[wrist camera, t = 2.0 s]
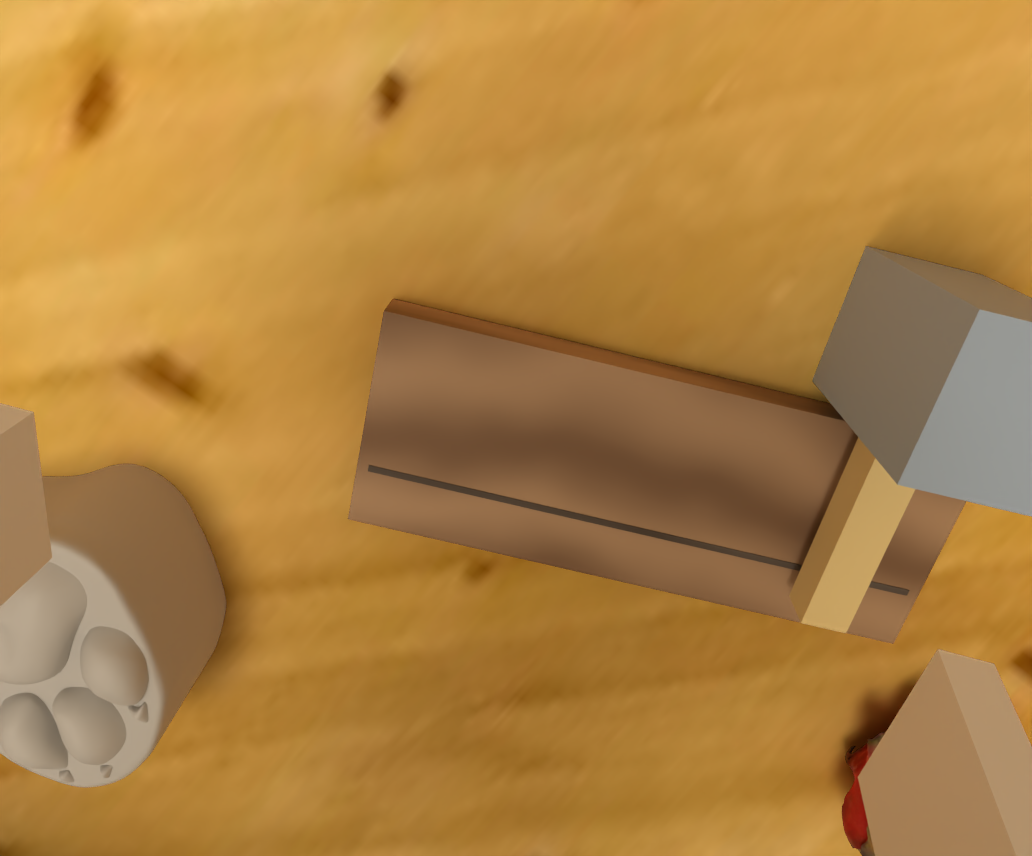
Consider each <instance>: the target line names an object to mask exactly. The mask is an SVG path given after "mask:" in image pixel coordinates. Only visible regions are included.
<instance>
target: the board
mask: <svg viewBox="0 0 1032 856" xmlns="http://www.w3.org/2000/svg"><path fill="white" fill-rule="evenodd" d="M857 439H858V436H857V435H856V434H855V432H854V431H853V430H852V429H851V428H850V426H849V425H848V424H847V423H846V421H845V420H844V419H843V418H842V417H841V415H840V414H839V413H838V412H837V410H836V409H835V408H834V407H833V406H832V404H830V403H825V402H821V401H817V400H813V399H809V398H805V397H800V396H796V395H792V394H788V393H784V392H780V391H775V390H771V389H767V388H763V387H759V386H755V385H750V384H746V383H742V382H738V381H734V380H730V379H725V378H721V377H717V376H713V375H709V374H705V373H700V372H696V371H692V370H688V369H684V368H680V367H675V366H671V365H667V364H663V363H659V362H655V361H650V360H646V359H642V358H638V357H634V356H630V355H625V354H621V353H617V352H613V351H609V350H605V349H600V348H596V347H592V346H588V345H584V344H580V343H575V342H571V341H567V340H563V339H559V338H555V337H550V336H546V335H542V334H538V333H534V332H530V331H525V330H521V329H517V328H513V327H509V326H505V325H500V324H496V323H492V322H488V321H484V320H480V319H475V318H471V317H467V316H463V315H459V314H455V313H450V312H446V311H442V310H438V309H434V308H430V307H425V306H421V305H417V304H413V303H409V302H405V301H400V300H396V299H393V300H392V301H391V302H390V304H389V305H388V306H387V308H386V309H385V310H384V314H383V319H382V325H381V331H380V337H379V343H378V348H377V354H376V360H375V366H374V372H373V377H372V383H371V389H370V395H369V401H368V406H367V412H366V418H365V424H364V430H363V435H362V441H361V447H360V453H359V458H358V464H357V470H356V476H355V482H354V487H353V493H352V499H351V505H350V511H349V516H348V519H350V520H354V521H358V522H363V523H367V524H372V525H376V526H380V527H385V528H389V529H393V530H398V531H402V532H407V533H411V534H415V535H420V536H424V537H428V538H433V539H437V540H442V541H446V542H450V543H455V544H459V545H463V546H468V547H472V548H477V549H481V550H485V551H490V552H494V553H498V554H503V555H507V556H512V557H516V558H520V559H525V560H529V561H534V562H538V563H542V564H547V565H551V566H555V567H560V568H564V569H569V570H573V571H577V572H582V573H586V574H590V575H595V576H599V577H604V578H608V579H612V580H617V581H621V582H625V583H630V584H634V585H639V586H643V587H647V588H652V589H656V590H660V591H665V592H669V593H674V594H678V595H682V596H687V597H691V598H695V599H700V600H704V601H709V602H713V603H717V604H722V605H726V606H730V607H735V608H739V609H744V610H748V611H752V612H757V613H761V614H765V615H770V616H774V617H779V618H783V619H787V620H792V621H796V622H800V620H799V618H798V615H797V613H796V611H795V608H794V606H793V604H792V602H791V599H790V597H789V595H790V592H791V590H792V588H793V586H794V583H795V581H796V579H797V576H798V574H799V572H800V570H801V567H802V565H803V563H804V560H805V558H806V556H807V554H808V551H809V549H810V547H811V544H812V542H813V540H814V538H815V535H816V533H817V531H818V528H819V526H820V524H821V522H822V519H823V517H824V515H825V512H826V510H827V508H828V506H829V503H830V501H831V499H832V496H833V494H834V492H835V490H836V487H837V485H838V483H839V480H840V478H841V476H842V474H843V471H844V469H845V467H846V464H847V462H848V460H849V458H850V455H851V453H852V451H853V448H854V446H855V444H856V442H857ZM965 503H966V501H964V500H960V499H956V498H951V497H947V496H943V495H939V494H935V493H930V492H926V491H922V490H918V489H915V491H914V493H913V495H912V497H911V499H910V501H909V504H908V506H907V508H906V510H905V512H904V514H903V516H902V518H901V520H900V522H899V524H898V526H897V528H896V531H895V533H894V535H893V537H892V539H891V541H890V543H889V545H888V547H887V549H886V551H885V553H884V556H883V558H882V560H881V562H880V564H879V566H878V568H877V570H876V572H875V574H874V576H873V578H872V580H871V583H870V585H869V587H868V589H867V591H866V593H865V595H864V597H863V599H862V601H861V603H860V605H859V608H858V610H857V612H856V614H855V616H854V618H853V620H852V622H851V624H850V626H849V628H848V630H847V632H846V633H849V634H853V635H857V636H862V637H866V638H871V639H875V640H879V641H884V642H888V643H892V644H893V643H894V641H895V640H896V638H897V636H898V634H899V632H900V630H901V628H902V626H903V624H904V622H905V620H906V618H907V616H908V614H909V612H910V610H911V608H912V606H913V604H914V602H915V600H916V598H917V597H918V595H919V593H920V591H921V589H922V587H923V585H924V583H925V581H926V579H927V577H928V575H929V573H930V571H931V569H932V567H933V565H934V563H935V561H936V559H937V557H938V556H939V554H940V552H941V550H942V548H943V546H944V544H945V542H946V540H947V538H948V536H949V534H950V532H951V530H952V528H953V526H954V524H955V522H956V520H957V518H958V516H959V514H960V513H961V511H962V509H963V507H964V505H965ZM800 623H801V622H800Z"/></svg>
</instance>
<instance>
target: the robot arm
mask: <svg viewBox="0 0 1032 856" xmlns="http://www.w3.org/2000/svg"><path fill="white" fill-rule="evenodd" d="M50 559H52V551H51V544H50V536H49V528H48V520H47V512H46V505H45V497H44V489H43V481H42V473H41V466H40V458H39V450H38V442H37V434H36V427H35V419H34V412H31V411H28V410H24V409H20V408H16V407H12V406H8V405H5V404H1V403H0V606H1V605H2V604H3V603H5V602H6V601H7V600H8V599H9V598H10V597H11V596H12V595H13V594H14V593H15V592H16V591H17V590H18V589H19V588H21V587H22V586H23V585H24V584H25V583H26V582H27V581H28V580H29V579H30V578H31V577H32V576H33V575H34V574H36V573H37V572H38V571H39V570H40V569H41V568H42V567H43V566H44V565H45V564H46V563H47V562H48V561H49V560H50ZM858 780H859V785H860V790H861V794H862V799H863V803H864V808H865V812H866V817H867V821H868V826H869V830H870V835H871V840H872V844H873V849H874V853H875V856H1032V746H1031V744H1030V742H1029V740H1028V737H1027V735H1026V733H1025V731H1024V729H1023V726H1022V724H1021V722H1020V720H1019V717H1018V715H1017V713H1016V711H1015V709H1014V706H1013V704H1012V702H1011V700H1010V698H1009V695H1008V693H1007V691H1006V689H1005V687H1004V684H1003V682H1002V680H1001V678H1000V675H999V673H998V671H997V669H996V667H995V664H993V663H989V662H985V661H982V660H978V659H974V658H970V657H966V656H963V655H959V654H955V653H951V652H947V651H943V650H940V649H938V650H937V651H936V653H935V654H934V656H933V657H932V659H931V661H930V662H929V664H928V665H927V667H926V669H925V670H924V672H923V673H922V675H921V677H920V678H919V680H918V681H917V683H916V685H915V686H914V688H913V689H912V691H911V693H910V694H909V696H908V697H907V699H906V701H905V702H904V704H903V705H902V707H901V709H900V710H899V712H898V713H897V715H896V717H895V718H894V720H893V721H892V723H891V725H890V726H889V728H888V729H887V731H886V733H885V734H884V736H883V737H882V739H881V741H880V742H879V744H878V745H877V747H876V749H875V750H874V752H873V753H872V755H871V757H870V758H869V760H868V761H867V763H866V765H865V766H864V768H863V769H862V771H861V773H860V774H859V776H858Z"/></svg>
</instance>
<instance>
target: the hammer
mask: <svg viewBox="0 0 1032 856" xmlns="http://www.w3.org/2000/svg"><path fill="white" fill-rule="evenodd" d="M812 381H813V382H814V384H815V385H816V386H817V387H818V389H819V390H820V391H821V392H822V393H823V395H824V396H825V397H826V398H827V400H828V401H829V402H830V403H831V404H832V406H833V407H834V408H835V409H836V410H837V412H838V413H839V414H840V415H841V417H842V418H843V419H844V420H845V421H846V423H847V424H848V425H849V426H850V428H851V429H852V430H853V431H854V432H855V434H856V435H857V436H858V439H857V442H856V444H855V446H854V448H853V451H852V453H851V455H850V458H849V460H848V462H847V464H846V467H845V469H844V471H843V474H842V476H841V478H840V480H839V483H838V485H837V487H836V490H835V492H834V494H833V496H832V499H831V501H830V503H829V506H828V508H827V510H826V512H825V515H824V517H823V519H822V522H821V524H820V526H819V528H818V531H817V533H816V535H815V538H814V540H813V542H812V544H811V547H810V549H809V551H808V554H807V556H806V558H805V560H804V563H803V565H802V567H801V570H800V572H799V574H798V576H797V579H796V581H795V583H794V586H793V588H792V590H791V592H790V595H789V597H790V599H791V602H792V604H793V606H794V608H795V611H796V613H797V615H798V618H799V620H800V622H801V623H803V624H807V625H811V626H816V627H820V628H825V629H829V630H833V631H838V632H842V633H846V632H847V630H848V628H849V626H850V624H851V622H852V620H853V618H854V616H855V614H856V612H857V610H858V608H859V605H860V603H861V601H862V599H863V597H864V595H865V593H866V591H867V589H868V587H869V585H870V583H871V580H872V578H873V576H874V574H875V572H876V570H877V568H878V566H879V564H880V562H881V560H882V558H883V556H884V553H885V551H886V549H887V547H888V545H889V543H890V541H891V539H892V537H893V535H894V533H895V531H896V528H897V526H898V524H899V522H900V520H901V518H902V516H903V514H904V512H905V510H906V508H907V506H908V504H909V501H910V499H911V497H912V495H913V493H914V491H915V489H918V490H922V491H926V492H930V493H935V494H939V495H943V496H947V497H951V498H956V499H960V500H964V501H968V502H973V503H977V504H981V505H985V506H990V507H994V508H998V509H1002V510H1006V511H1011V512H1015V513H1019V514H1023V515H1028V516H1032V298H1030V297H1028V296H1026V295H1024V294H1022V293H1020V292H1018V291H1016V290H1013V289H1011V288H1009V287H1007V286H1005V285H1003V284H1001V283H999V282H996V281H994V280H992V279H990V278H988V277H986V276H984V275H981V274H977V273H973V272H969V271H965V270H961V269H957V268H953V267H949V266H944V265H940V264H936V263H932V262H928V261H924V260H920V259H916V258H912V257H908V256H904V255H900V254H896V253H892V252H888V251H884V250H880V249H876V248H872V247H868V246H866V247H865V250H864V252H863V255H862V257H861V260H860V262H859V265H858V267H857V270H856V272H855V275H854V277H853V280H852V282H851V285H850V287H849V290H848V292H847V295H846V297H845V300H844V302H843V305H842V307H841V310H840V312H839V315H838V317H837V320H836V322H835V325H834V327H833V330H832V332H831V335H830V337H829V340H828V342H827V345H826V347H825V350H824V352H823V355H822V357H821V360H820V362H819V365H818V367H817V370H816V372H815V375H814V377H813V380H812Z"/></svg>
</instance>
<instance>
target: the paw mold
mask: <svg viewBox="0 0 1032 856" xmlns="http://www.w3.org/2000/svg"><path fill="white" fill-rule="evenodd" d="M42 481H43V489H44V497H45V505H46V512H47V520H48V528H49V536H50V544H51V551H52V559H50V560H49V561H48V562H47V563H46V564H45V565H44V566H43V567H42V568H41V569H40V570H39V571H38V572H37V573H36V574H34V575H33V576H32V577H31V578H30V579H29V580H28V581H27V582H26V583H25V584H24V585H23V586H22V587H21V588H19V589H18V590H17V591H16V592H15V593H14V594H13V595H12V596H11V597H10V598H9V599H8V600H7V601H6V602H5V603H3V604H2V605H1V606H0V753H1V754H2V755H4V756H5V757H6V758H8V759H9V760H11V761H12V762H14V763H16V764H18V765H19V766H21V767H23V768H25V769H27V770H29V771H32V772H34V773H36V774H39V775H41V776H44V777H46V778H49V779H52V780H55V781H58V782H60V783H64V784H67V785H71V786H77V787H96V786H103V785H107V784H111V783H113V782H116V781H118V780H121V779H123V778H125V777H126V776H128V775H129V774H131V773H132V772H133V771H134V770H136V769H137V768H138V767H139V766H140V765H141V764H142V763H143V762H144V761H145V760H146V758H147V757H148V756H149V755H150V754H151V752H152V751H153V750H154V748H155V747H156V745H157V743H158V742H159V740H160V738H161V737H162V735H163V734H164V732H165V730H166V729H167V727H168V726H169V724H170V722H171V721H172V719H173V717H174V716H175V714H176V713H177V711H178V709H179V708H180V706H181V704H182V703H183V701H184V699H185V698H186V696H187V694H188V693H189V691H190V690H191V688H192V686H193V685H194V683H195V681H196V680H197V678H198V676H199V675H200V673H201V672H202V670H203V668H204V667H205V665H206V663H207V662H208V660H209V658H210V657H211V655H212V654H213V652H214V650H215V648H216V645H217V643H218V640H219V637H220V633H221V630H222V626H223V622H224V617H225V612H226V597H225V592H224V588H223V584H222V581H221V577H220V574H219V571H218V568H217V565H216V562H215V559H214V557H213V554H212V551H211V549H210V546H209V544H208V542H207V539H206V537H205V535H204V533H203V531H202V529H201V527H200V525H199V523H198V521H197V519H196V517H195V515H194V513H193V511H192V509H191V507H190V505H189V504H188V502H187V501H186V499H185V498H184V497H183V495H182V494H181V493H180V492H179V491H178V489H177V488H176V487H175V486H174V485H173V484H171V483H170V482H169V481H168V480H167V479H165V478H164V477H162V476H161V475H159V474H158V473H156V472H154V471H152V470H150V469H148V468H146V467H143V466H140V465H135V464H117V465H112V466H108V467H105V468H102V469H99V470H96V471H93V472H90V473H87V474H83V475H77V476H66V477H53V476H46V477H42Z"/></svg>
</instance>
